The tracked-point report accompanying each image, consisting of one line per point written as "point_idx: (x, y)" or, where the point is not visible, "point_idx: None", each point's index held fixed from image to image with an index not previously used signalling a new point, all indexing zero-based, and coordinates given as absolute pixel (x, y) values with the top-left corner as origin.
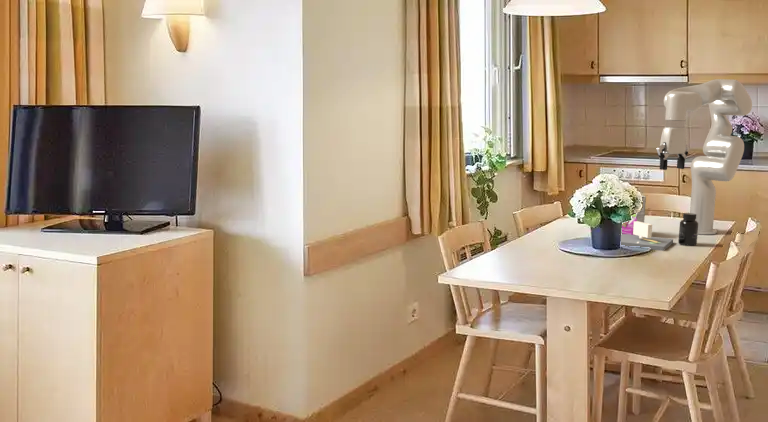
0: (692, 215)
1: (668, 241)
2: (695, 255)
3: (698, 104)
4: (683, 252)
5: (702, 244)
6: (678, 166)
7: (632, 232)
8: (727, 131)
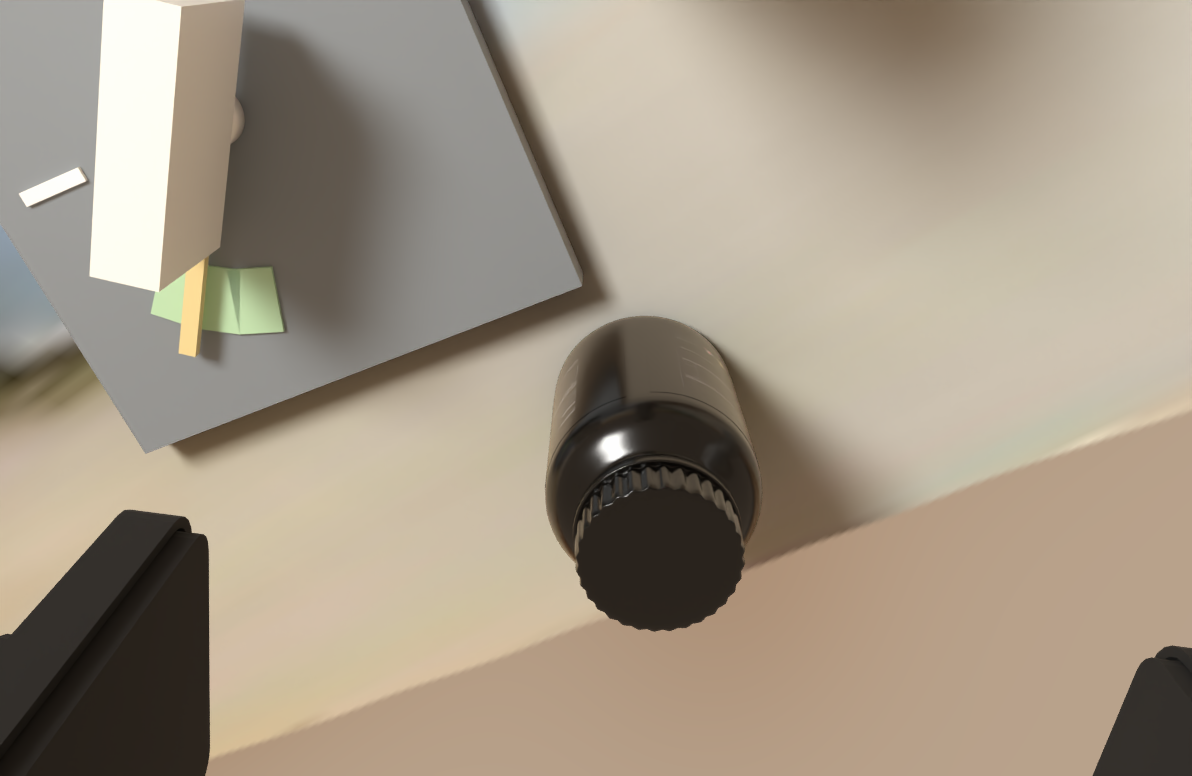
0: (612, 613)
1: (416, 332)
2: (264, 677)
3: None
4: (274, 567)
5: (767, 474)
6: (1152, 758)
7: None
8: None
